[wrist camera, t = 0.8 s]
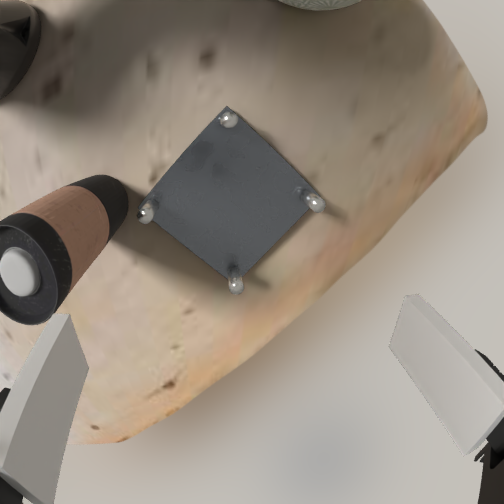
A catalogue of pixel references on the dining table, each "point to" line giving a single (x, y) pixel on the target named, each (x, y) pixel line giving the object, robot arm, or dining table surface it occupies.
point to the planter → (319, 4)
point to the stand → (229, 198)
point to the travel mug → (56, 245)
